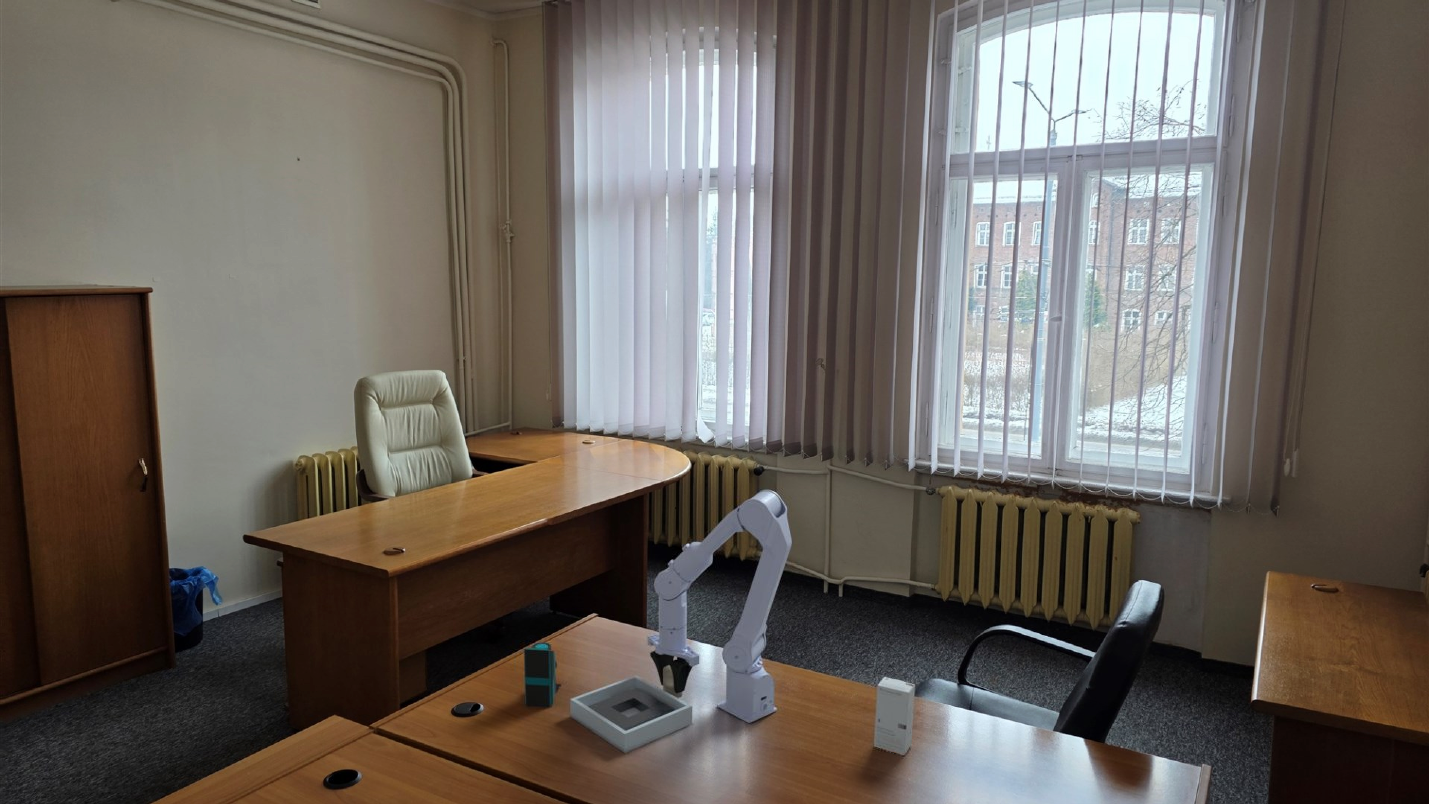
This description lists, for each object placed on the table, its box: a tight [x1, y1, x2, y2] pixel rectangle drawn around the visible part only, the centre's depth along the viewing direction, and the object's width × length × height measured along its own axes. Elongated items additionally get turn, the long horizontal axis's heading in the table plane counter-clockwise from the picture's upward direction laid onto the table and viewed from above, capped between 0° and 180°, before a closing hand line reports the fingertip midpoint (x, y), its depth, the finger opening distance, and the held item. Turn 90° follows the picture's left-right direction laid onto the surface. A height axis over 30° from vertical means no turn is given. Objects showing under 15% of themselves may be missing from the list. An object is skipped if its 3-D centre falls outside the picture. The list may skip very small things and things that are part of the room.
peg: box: [662, 665, 683, 699], centre depth 173 cm, size 4×4×6 cm
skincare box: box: [873, 676, 916, 755], centre depth 152 cm, size 6×4×12 cm
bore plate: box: [587, 688, 674, 731], centre depth 162 cm, size 12×12×2 cm
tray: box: [569, 675, 693, 754], centre depth 162 cm, size 18×16×4 cm
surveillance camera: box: [523, 642, 562, 709], centre depth 171 cm, size 6×12×10 cm
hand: (672, 687), depth 173 cm, fingers closed on peg, 4 cm apart
